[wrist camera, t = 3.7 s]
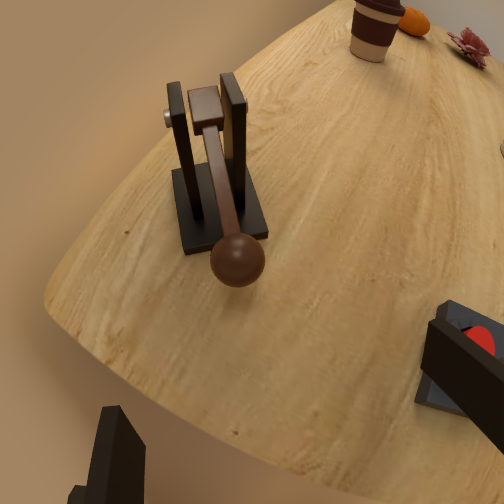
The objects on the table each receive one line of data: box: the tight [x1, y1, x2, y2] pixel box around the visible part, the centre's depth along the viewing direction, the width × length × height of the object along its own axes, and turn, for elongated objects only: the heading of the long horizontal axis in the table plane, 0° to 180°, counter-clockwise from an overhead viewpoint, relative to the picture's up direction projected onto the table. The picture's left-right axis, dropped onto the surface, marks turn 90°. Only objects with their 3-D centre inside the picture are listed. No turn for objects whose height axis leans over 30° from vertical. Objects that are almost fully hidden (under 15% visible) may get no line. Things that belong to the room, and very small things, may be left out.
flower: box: [447, 27, 491, 68], centre depth 55 cm, size 15×15×10 cm
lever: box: [187, 86, 265, 287], centre depth 20 cm, size 14×4×4 cm, turn 15°
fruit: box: [398, 7, 430, 36], centre depth 58 cm, size 10×11×8 cm
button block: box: [414, 300, 504, 417], centre depth 22 cm, size 13×10×4 cm
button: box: [463, 326, 495, 356], centre depth 20 cm, size 4×4×2 cm
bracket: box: [164, 72, 269, 255], centre depth 25 cm, size 10×8×14 cm
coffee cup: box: [350, 0, 406, 62], centre depth 43 cm, size 10×10×15 cm
